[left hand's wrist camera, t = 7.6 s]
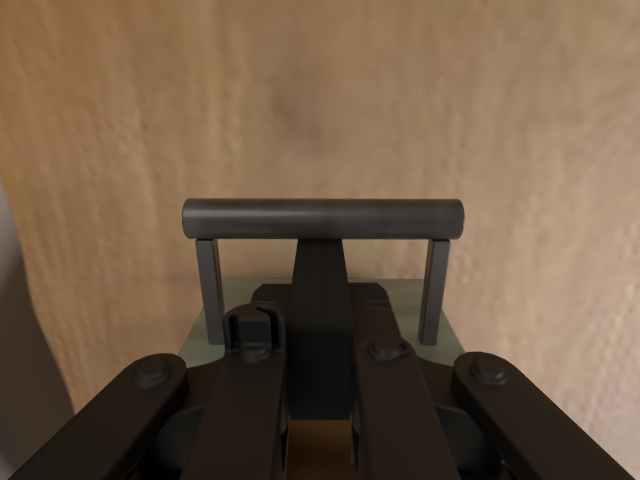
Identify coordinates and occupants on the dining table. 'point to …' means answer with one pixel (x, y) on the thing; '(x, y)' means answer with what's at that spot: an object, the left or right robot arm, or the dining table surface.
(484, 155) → the dining table surface
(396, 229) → the drawer
